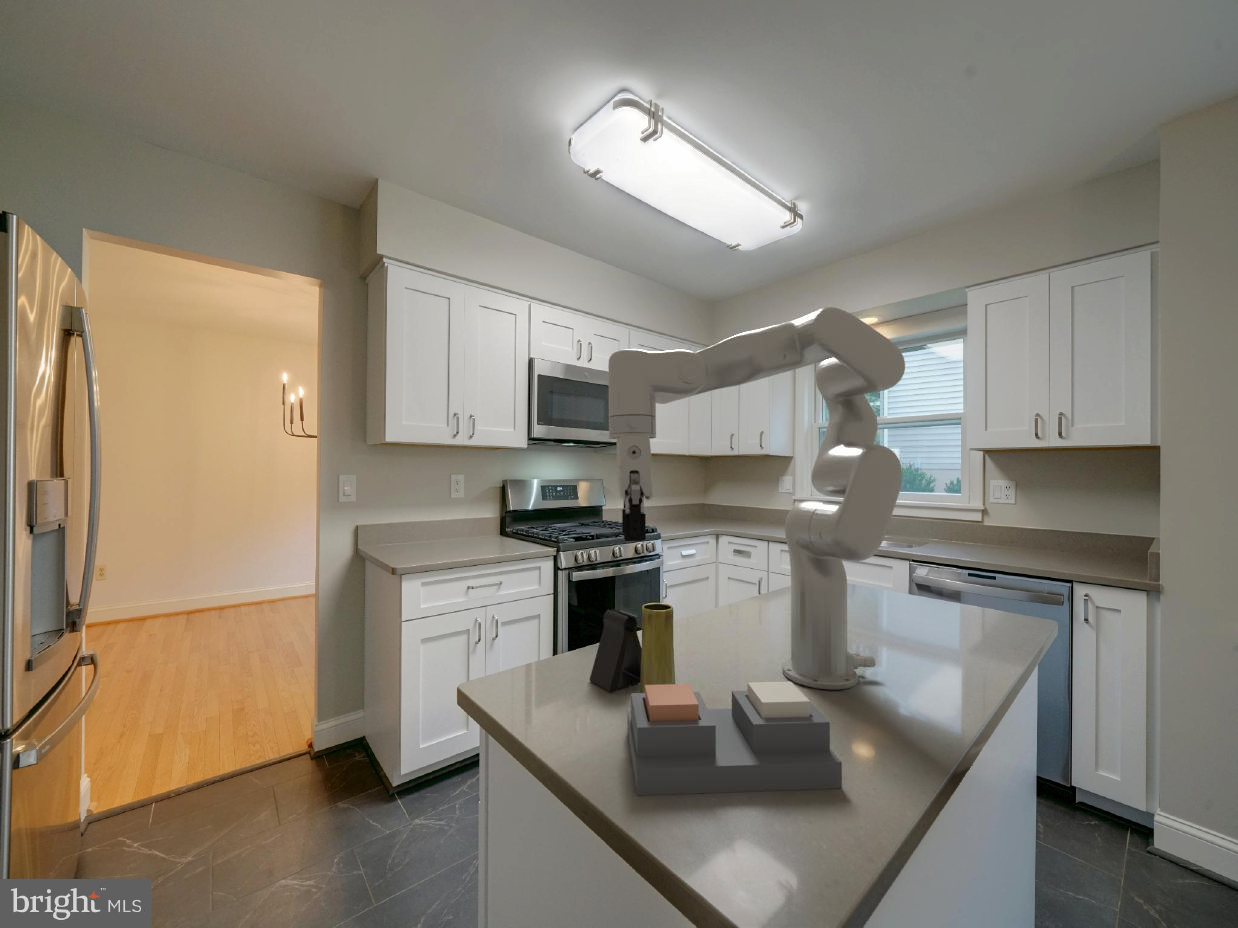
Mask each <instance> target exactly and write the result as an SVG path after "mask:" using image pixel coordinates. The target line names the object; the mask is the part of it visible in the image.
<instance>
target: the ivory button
mask: <svg viewBox="0 0 1238 928" xmlns="http://www.w3.org/2000/svg"><path fill="white" fill-rule="evenodd" d="M747 691H748V700H749V702H750V703H751V705H752V706H753V708H754V709H755V710H756V712H757V713H758V715H759V716H760V718H794V717H810V702H811V701H810V700H809V699H808V697H807V696H806V695H804V694H803V692H802V691H800V689H799V688H798V687H797V686H796V685H795V684H794V682H793V681H761V682H759V681H755V682H752V681H751V682H747Z"/></svg>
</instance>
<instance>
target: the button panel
mask: <svg viewBox="0 0 1238 928" xmlns="http://www.w3.org/2000/svg"><path fill="white" fill-rule="evenodd" d="M693 693H694V695H695V698H696V700H697V702H698V704H699V720H686V721H650V722H648V719H647V715H646V711H645V693H640V692H639V693H638V692H635V693H634V692H632V693H631V694H630V711H629V710H627V737H628V745H629V751H630V758H631V765H632V772H633V779H634V780H633V781H634V786H635V792H636V796H655V795H658V796H659V795H681V794H682V795H683V794H684V795H685V794H710V793H713V794H714V793H740V792H741V793H742V792H766V791H767V792H768V791H770V792H771V791H794V790H796V791H797V790H820V789H821V790H822V789H825V790H826V789H842V788H843V772H842V771H843V767H842V766H843V765H842V764H843V762H842V760H840V758H839V757H838V756H837V755H836V753H834V751H833V750H832V749H831V725H830V723H831V722H830V721H829V720H828V719H827V717H825V715H824V714H823V713H821V712H820V710H819V709H818V708H817V707H816V706H815V705H814V704H813V703H812V702H811V701H810V717H794V718H760V716H759V715H758V713H757V712H756V710H755V709H754V708H753V706H752V705H751V703H750V702H749V700H748V690H731V708H708V707H707V705H706V703H705V701H704V698H703V697H702V695H701V693H700V691H693Z"/></svg>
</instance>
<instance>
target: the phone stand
mask: <svg viewBox="0 0 1238 928" xmlns="http://www.w3.org/2000/svg"><path fill="white" fill-rule="evenodd" d="M602 619H603V629H602V632H601V636H600V640H599V644H598V648H597V651H596V655H595V658H594V661H593V667H592V669H591V672H590V676H589V681H590V683H592V684H594V685H596V686H598V687H599V688H601V689H603V690H605V691H606V692H608V693H610V694H612V693H615V692H619V691H621V690H626V689H627V688H630V687H634V686H637V685H640V675H641V658H642V644H641V642H640V639H639V636H638V620H637V618H636V617H635V616H633V615H631V614H629V613H628V614H627V613H625V612H622V611H619V610H617V609H614V608H611V610H610V609H607V610H606V611H605V613H604V614H603V618H602Z"/></svg>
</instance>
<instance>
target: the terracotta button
mask: <svg viewBox="0 0 1238 928" xmlns="http://www.w3.org/2000/svg"><path fill="white" fill-rule="evenodd" d="M693 692H694V691H693V689H692V687H691V685H690V684H689V683H677V684H676V683H675V684H666V685H645V711H646V715H647V719H648V722H650V721H686V720H699V704H698V702H697V700H696V698H695V695H694V693H693Z"/></svg>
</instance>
